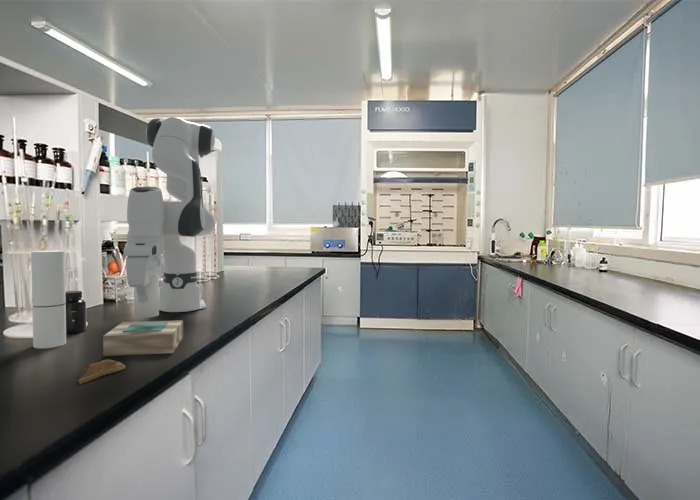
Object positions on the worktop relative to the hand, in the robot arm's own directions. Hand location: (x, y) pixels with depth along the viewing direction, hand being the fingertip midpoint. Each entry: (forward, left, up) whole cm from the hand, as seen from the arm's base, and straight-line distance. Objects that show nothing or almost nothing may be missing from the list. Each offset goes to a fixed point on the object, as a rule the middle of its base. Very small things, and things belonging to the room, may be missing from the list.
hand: (146, 299), depth 110 cm
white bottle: (0, 0, -4) cm, 4 cm away
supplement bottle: (-19, -25, -13) cm, 34 cm away
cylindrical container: (-5, -25, -13) cm, 29 cm away
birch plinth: (0, 0, -13) cm, 13 cm away
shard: (+20, -4, -13) cm, 24 cm away
